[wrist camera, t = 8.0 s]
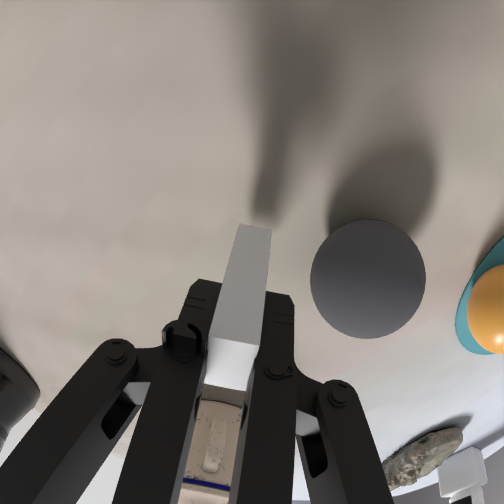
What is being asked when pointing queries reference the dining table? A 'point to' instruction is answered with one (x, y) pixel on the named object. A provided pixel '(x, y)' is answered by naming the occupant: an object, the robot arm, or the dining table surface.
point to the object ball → (488, 310)
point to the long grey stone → (421, 457)
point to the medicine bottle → (463, 477)
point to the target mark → (496, 257)
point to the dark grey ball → (367, 279)
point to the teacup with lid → (211, 454)
